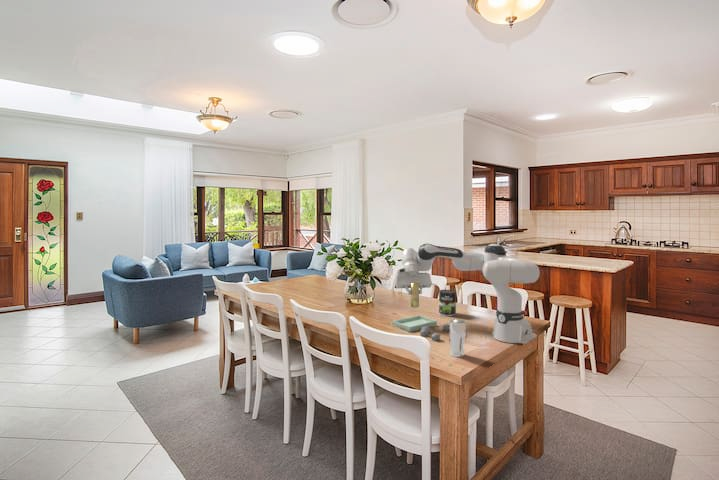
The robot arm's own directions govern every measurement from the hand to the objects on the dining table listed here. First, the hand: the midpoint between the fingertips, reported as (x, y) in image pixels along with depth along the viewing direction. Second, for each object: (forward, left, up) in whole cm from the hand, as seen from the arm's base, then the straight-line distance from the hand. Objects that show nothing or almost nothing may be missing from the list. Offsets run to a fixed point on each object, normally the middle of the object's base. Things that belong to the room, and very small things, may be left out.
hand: (415, 293), depth 208 cm
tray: (0, 0, -18) cm, 18 cm away
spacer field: (0, +20, -18) cm, 26 cm away
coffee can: (-32, -6, -18) cm, 38 cm away
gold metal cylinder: (0, -1, -7) cm, 7 cm away
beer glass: (+13, +42, -18) cm, 47 cm away
